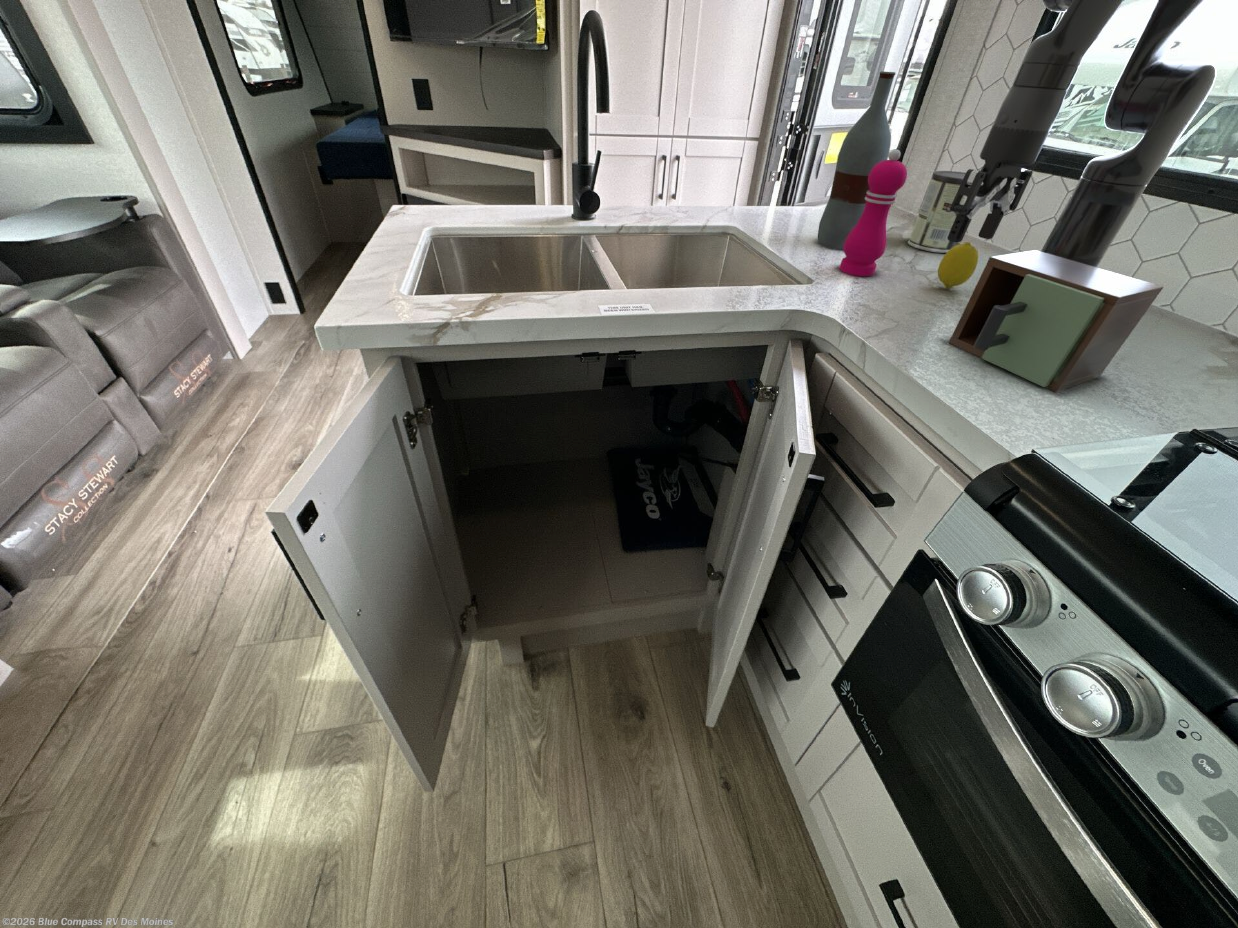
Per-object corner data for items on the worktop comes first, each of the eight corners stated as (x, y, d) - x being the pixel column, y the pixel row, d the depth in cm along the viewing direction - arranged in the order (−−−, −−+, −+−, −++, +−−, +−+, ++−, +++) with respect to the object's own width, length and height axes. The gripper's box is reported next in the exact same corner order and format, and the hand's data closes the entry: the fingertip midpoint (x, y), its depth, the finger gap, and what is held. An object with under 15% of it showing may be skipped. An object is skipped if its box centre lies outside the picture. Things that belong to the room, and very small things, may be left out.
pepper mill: (857, 279, 94) (899, 153, 81) (828, 267, 99) (864, 146, 86) (884, 275, 97) (929, 152, 84) (854, 263, 102) (893, 146, 89)
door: (1018, 396, 61) (1074, 305, 54) (955, 365, 67) (999, 279, 60) (1047, 386, 64) (1105, 298, 57) (984, 357, 69) (1029, 274, 62)
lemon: (968, 296, 90) (991, 248, 85) (935, 292, 90) (955, 245, 85) (958, 285, 94) (979, 239, 89) (927, 282, 95) (946, 236, 90)
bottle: (856, 241, 114) (910, 73, 96) (861, 253, 107) (921, 74, 89) (813, 236, 116) (857, 70, 97) (815, 247, 109) (864, 70, 90)
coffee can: (943, 241, 118) (972, 172, 109) (966, 254, 110) (999, 181, 101) (899, 238, 118) (925, 169, 109) (919, 252, 110) (948, 178, 101)
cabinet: (1055, 392, 63) (1119, 297, 56) (948, 342, 74) (989, 256, 66) (1099, 377, 67) (1164, 286, 60) (991, 332, 77) (1034, 249, 70)
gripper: (1019, 128, 71) (963, 249, 81) (1074, 129, 77) (1015, 243, 87) (969, 121, 76) (922, 236, 86) (1024, 123, 82) (974, 231, 92)
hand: (969, 239), depth 87 cm, fingers open, 8 cm apart
